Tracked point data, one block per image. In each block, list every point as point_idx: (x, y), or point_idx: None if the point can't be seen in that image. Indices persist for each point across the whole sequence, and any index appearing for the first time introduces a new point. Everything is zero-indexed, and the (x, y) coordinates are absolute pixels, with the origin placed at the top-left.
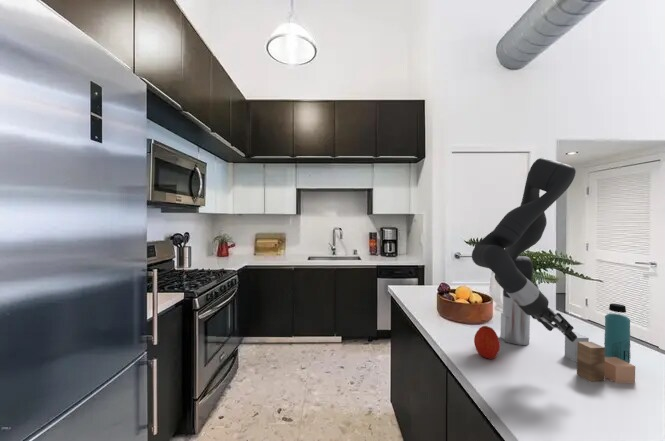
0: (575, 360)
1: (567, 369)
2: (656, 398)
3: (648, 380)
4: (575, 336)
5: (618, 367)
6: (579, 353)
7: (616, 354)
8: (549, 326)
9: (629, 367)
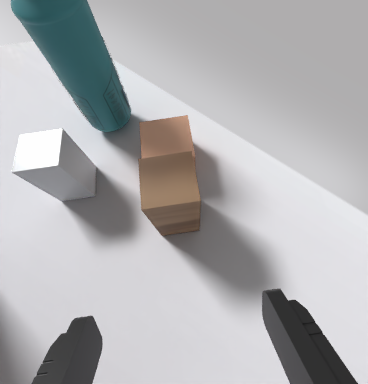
0: (93, 194)
1: (138, 244)
2: (247, 145)
3: (176, 112)
4: (309, 316)
5: (193, 151)
6: (159, 220)
7: (117, 110)
8: (88, 363)
9: (189, 128)
